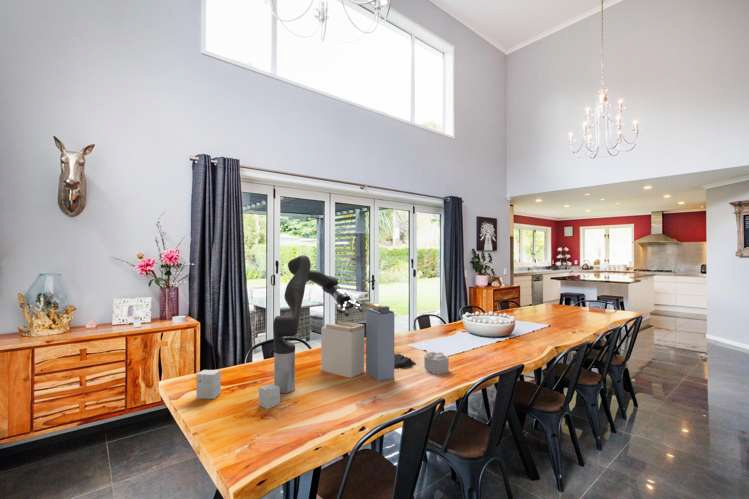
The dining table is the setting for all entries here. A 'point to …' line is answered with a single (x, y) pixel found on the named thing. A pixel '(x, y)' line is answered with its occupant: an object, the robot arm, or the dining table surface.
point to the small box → (208, 384)
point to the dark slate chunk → (402, 361)
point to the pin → (377, 307)
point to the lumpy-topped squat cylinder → (436, 362)
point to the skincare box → (269, 396)
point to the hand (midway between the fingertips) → (354, 313)
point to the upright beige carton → (342, 349)
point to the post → (380, 344)
